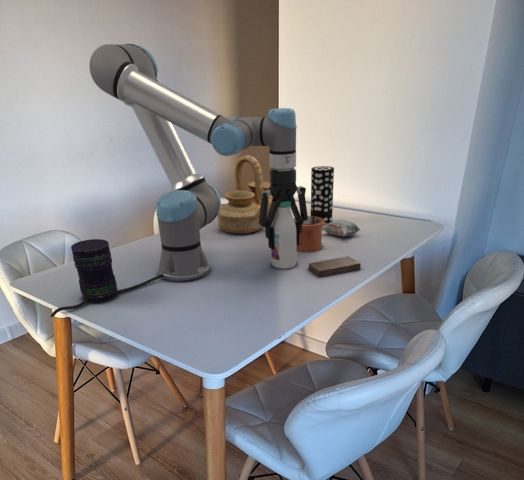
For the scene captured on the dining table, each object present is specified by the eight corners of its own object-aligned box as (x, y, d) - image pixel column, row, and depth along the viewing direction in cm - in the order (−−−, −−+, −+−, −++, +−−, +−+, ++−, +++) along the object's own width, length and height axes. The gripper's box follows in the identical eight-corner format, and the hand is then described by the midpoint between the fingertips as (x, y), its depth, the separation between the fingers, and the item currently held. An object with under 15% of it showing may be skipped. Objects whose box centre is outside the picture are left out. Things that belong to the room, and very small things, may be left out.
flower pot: (299, 254, 168) (299, 227, 163) (285, 244, 177) (285, 218, 172) (329, 249, 171) (330, 222, 167) (314, 239, 180) (314, 214, 176)
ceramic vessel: (253, 238, 184) (250, 166, 171) (209, 233, 191) (203, 163, 179) (291, 214, 210) (290, 149, 197) (251, 210, 217) (248, 147, 205)
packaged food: (344, 241, 178) (345, 227, 175) (319, 234, 185) (320, 220, 183) (360, 235, 183) (361, 222, 180) (335, 229, 190) (336, 216, 188)
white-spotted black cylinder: (307, 220, 201) (308, 167, 191) (326, 217, 203) (328, 165, 193) (315, 226, 195) (316, 171, 184) (335, 223, 197) (337, 169, 187)
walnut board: (319, 277, 150) (319, 271, 149) (308, 269, 156) (308, 263, 155) (360, 269, 155) (360, 263, 154) (348, 262, 160) (348, 256, 159)
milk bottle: (296, 260, 163) (297, 197, 153) (295, 269, 156) (296, 203, 146) (272, 260, 164) (271, 197, 154) (270, 269, 157) (269, 203, 147)
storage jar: (125, 295, 143) (115, 244, 136) (93, 307, 137) (81, 253, 130) (107, 286, 150) (97, 236, 142) (76, 296, 144) (64, 245, 136)
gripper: (254, 174, 139) (257, 254, 151) (321, 166, 146) (319, 244, 157) (244, 170, 145) (248, 247, 157) (309, 162, 152) (308, 237, 163)
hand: (283, 245), depth 157 cm, fingers closed on milk bottle, 8 cm apart
